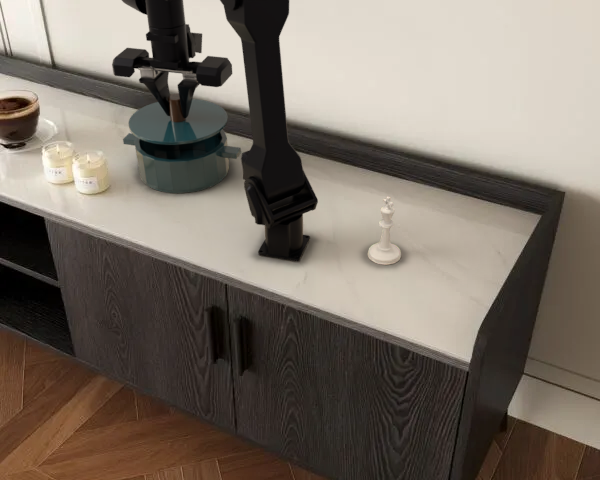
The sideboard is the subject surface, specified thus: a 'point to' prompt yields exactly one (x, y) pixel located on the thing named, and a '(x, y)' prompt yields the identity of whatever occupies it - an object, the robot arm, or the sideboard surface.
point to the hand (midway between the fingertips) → (177, 116)
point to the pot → (183, 163)
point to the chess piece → (385, 239)
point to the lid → (178, 122)
